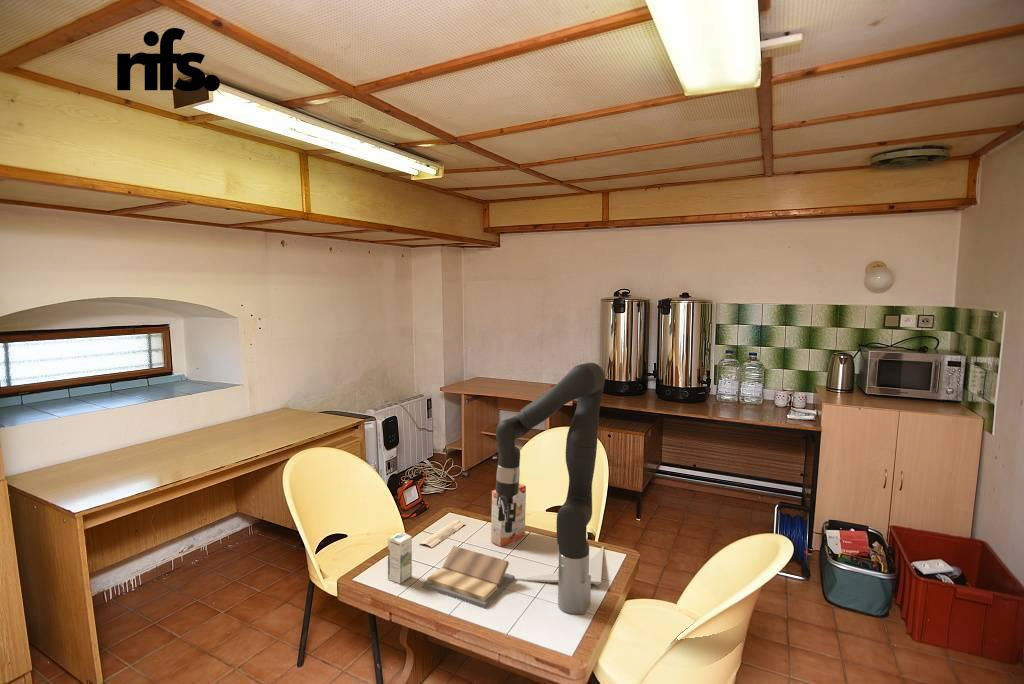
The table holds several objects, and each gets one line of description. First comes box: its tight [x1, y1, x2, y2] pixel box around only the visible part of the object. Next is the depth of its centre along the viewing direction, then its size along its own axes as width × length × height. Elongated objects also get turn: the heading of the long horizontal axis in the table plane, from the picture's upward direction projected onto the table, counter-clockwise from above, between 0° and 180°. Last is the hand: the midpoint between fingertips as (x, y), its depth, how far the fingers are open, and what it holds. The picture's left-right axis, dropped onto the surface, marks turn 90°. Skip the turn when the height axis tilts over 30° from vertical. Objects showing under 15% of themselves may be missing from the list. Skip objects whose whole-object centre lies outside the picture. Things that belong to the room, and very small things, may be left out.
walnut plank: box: [441, 545, 510, 586], centre depth 174 cm, size 22×8×2 cm
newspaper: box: [418, 520, 466, 549], centre depth 206 cm, size 24×7×2 cm, turn 152°
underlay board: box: [422, 572, 516, 609], centre depth 171 cm, size 24×19×1 cm
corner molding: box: [513, 546, 605, 586], centre depth 185 cm, size 30×2×30 cm
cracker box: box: [490, 483, 527, 548], centre depth 202 cm, size 14×6×21 cm, turn 136°
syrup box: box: [387, 532, 413, 585], centre depth 173 cm, size 6×6×14 cm
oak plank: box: [426, 566, 497, 601], centre depth 167 cm, size 22×8×2 cm, turn 61°
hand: (504, 526), depth 169 cm, fingers open, 8 cm apart
